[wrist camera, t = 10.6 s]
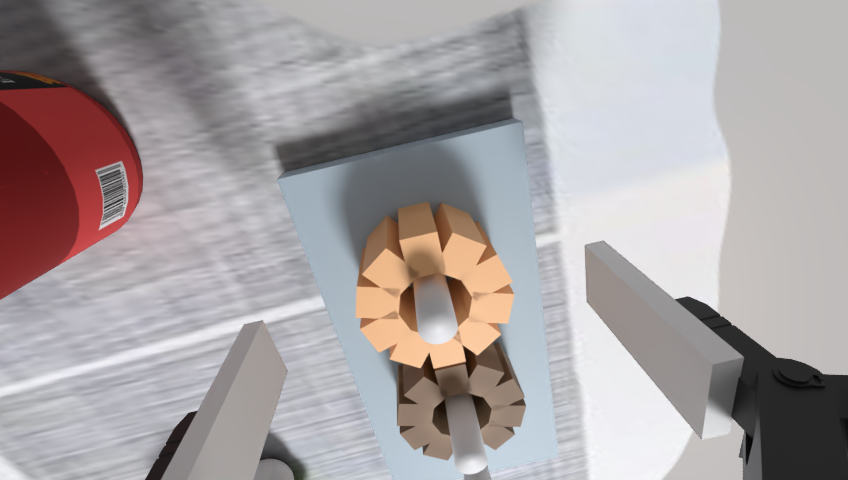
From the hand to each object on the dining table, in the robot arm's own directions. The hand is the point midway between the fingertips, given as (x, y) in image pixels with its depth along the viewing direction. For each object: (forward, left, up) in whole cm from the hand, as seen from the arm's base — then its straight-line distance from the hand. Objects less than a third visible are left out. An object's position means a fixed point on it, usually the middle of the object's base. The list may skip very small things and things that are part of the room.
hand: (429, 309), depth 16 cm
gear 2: (+9, 0, -5) cm, 10 cm away
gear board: (+7, 0, -7) cm, 10 cm away
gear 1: (+1, 0, -5) cm, 5 cm away
